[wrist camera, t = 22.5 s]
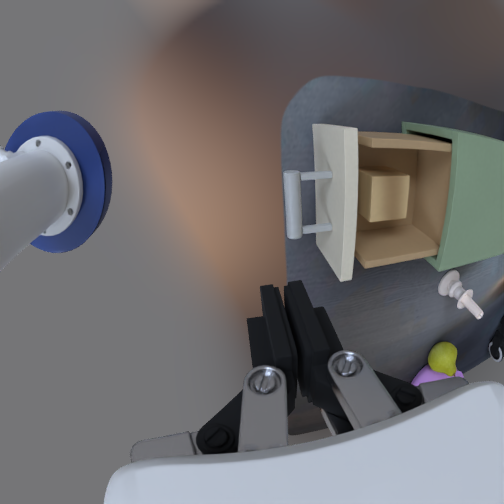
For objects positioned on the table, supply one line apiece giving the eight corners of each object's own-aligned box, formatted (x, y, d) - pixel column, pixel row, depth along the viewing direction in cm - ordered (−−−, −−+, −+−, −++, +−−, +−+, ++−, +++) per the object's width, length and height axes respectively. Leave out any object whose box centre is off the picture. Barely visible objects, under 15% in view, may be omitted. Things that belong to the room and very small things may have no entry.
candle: (433, 287, 38) (468, 325, 29) (452, 264, 37) (489, 299, 28) (443, 298, 40) (475, 334, 31) (461, 276, 38) (494, 310, 29)
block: (351, 207, 28) (369, 222, 24) (351, 166, 26) (372, 176, 22) (385, 204, 28) (406, 218, 24) (386, 166, 26) (410, 175, 22)
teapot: (403, 369, 49) (424, 406, 40) (461, 345, 50) (482, 375, 41) (387, 399, 56) (402, 433, 46) (442, 377, 57) (459, 404, 47)
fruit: (434, 335, 45) (462, 375, 35) (451, 333, 46) (478, 369, 36) (418, 358, 48) (442, 398, 38) (436, 355, 49) (459, 391, 39)
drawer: (279, 248, 31) (295, 289, 24) (270, 126, 25) (287, 129, 18) (409, 231, 32) (445, 260, 25) (416, 128, 25) (462, 138, 18)
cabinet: (395, 233, 33) (438, 272, 24) (401, 121, 26) (458, 131, 17) (463, 224, 33) (504, 253, 25) (473, 132, 26) (522, 147, 18)
